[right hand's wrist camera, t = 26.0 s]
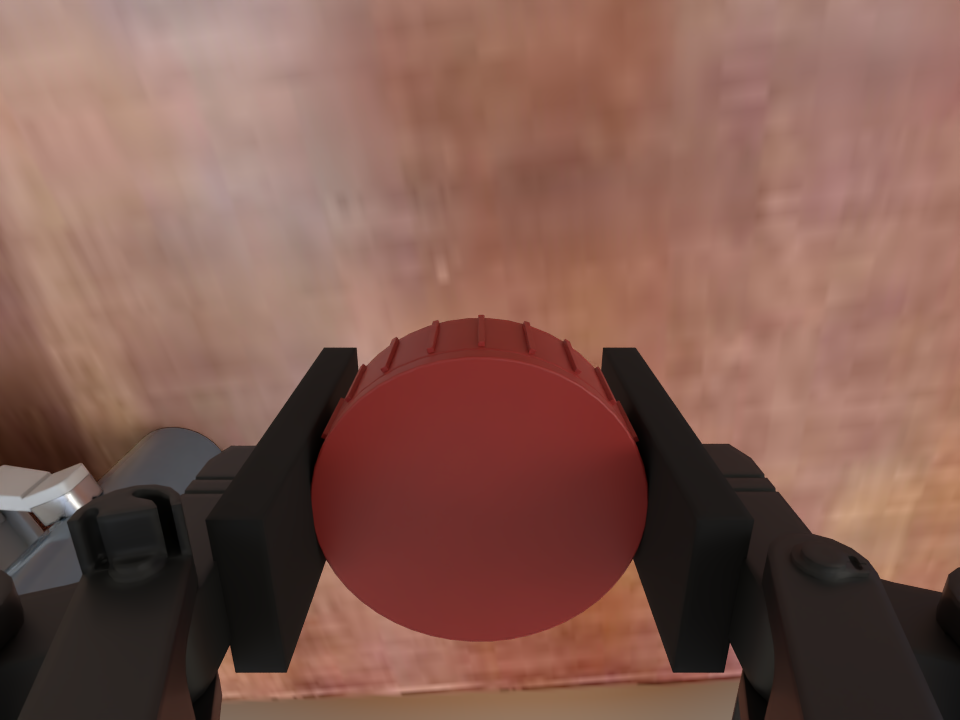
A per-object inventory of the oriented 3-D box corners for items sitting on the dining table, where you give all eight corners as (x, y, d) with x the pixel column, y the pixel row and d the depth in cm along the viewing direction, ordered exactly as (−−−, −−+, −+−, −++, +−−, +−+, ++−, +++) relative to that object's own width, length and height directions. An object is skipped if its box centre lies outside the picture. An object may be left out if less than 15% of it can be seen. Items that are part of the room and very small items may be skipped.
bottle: (112, 454, 31) (-316, 848, 14) (188, 411, 30) (-178, 778, 14) (176, 523, 33) (-142, 950, 16) (250, 484, 32) (-7, 894, 15)
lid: (687, 415, 12) (726, 471, 10) (515, 611, 14) (521, 689, 12) (433, 251, 11) (423, 279, 9) (282, 489, 13) (247, 555, 11)
